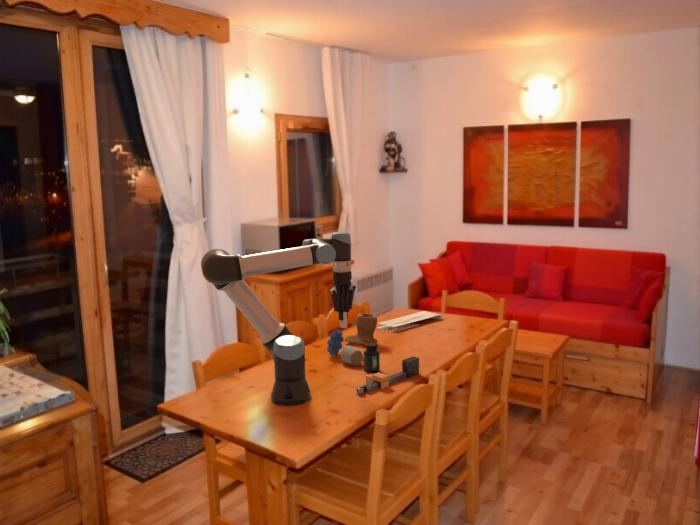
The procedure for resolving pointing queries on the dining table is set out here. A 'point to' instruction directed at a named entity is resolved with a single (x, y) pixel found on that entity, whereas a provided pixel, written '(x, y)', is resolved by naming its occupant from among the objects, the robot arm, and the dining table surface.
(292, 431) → the dining table surface
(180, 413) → the dining table surface
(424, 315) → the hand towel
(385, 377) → the lock collar
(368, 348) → the supplement bottle
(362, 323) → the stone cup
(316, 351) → the dining table surface
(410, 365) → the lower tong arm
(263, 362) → the dining table surface
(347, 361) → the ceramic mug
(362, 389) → the upper tong arm
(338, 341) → the grapes
